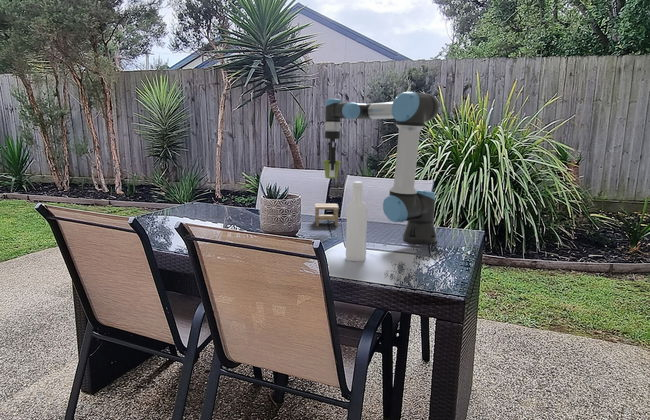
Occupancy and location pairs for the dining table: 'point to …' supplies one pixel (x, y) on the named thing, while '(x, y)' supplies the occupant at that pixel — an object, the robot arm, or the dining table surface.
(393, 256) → the dining table surface
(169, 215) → the dining table surface
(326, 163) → the plant pot
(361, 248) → the bottle
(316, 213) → the plant stand
